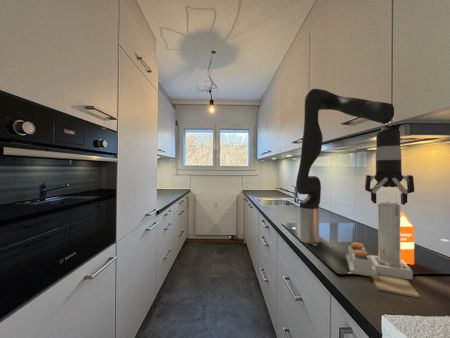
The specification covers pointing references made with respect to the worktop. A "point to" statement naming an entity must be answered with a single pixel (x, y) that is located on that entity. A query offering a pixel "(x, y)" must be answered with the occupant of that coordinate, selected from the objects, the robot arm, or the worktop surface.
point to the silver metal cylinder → (389, 234)
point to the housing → (376, 266)
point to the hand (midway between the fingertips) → (388, 203)
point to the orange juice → (406, 239)
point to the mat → (394, 285)
